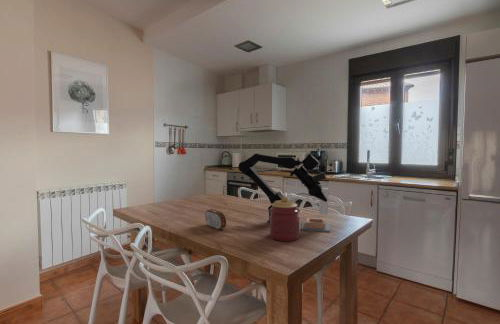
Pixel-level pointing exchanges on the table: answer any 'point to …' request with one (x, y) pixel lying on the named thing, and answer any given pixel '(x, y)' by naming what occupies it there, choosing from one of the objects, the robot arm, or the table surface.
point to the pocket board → (315, 225)
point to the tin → (215, 219)
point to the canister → (284, 220)
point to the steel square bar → (322, 204)
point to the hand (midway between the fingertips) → (326, 200)
